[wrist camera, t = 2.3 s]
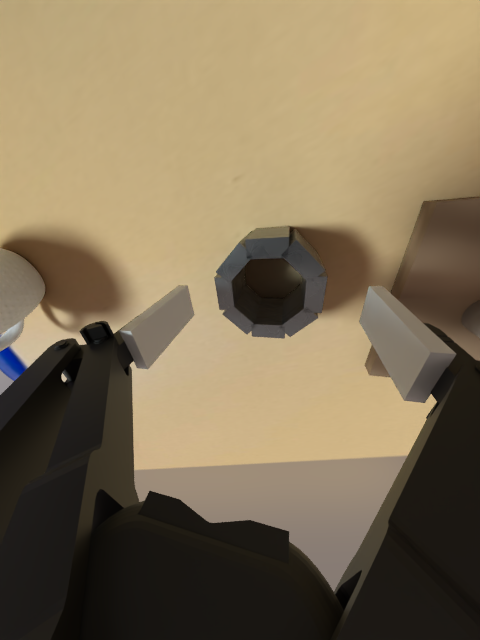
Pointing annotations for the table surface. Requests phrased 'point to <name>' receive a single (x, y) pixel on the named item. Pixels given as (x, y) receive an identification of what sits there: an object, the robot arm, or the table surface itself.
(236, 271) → the ring
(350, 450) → the table surface
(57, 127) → the table surface
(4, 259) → the mug
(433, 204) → the stand
